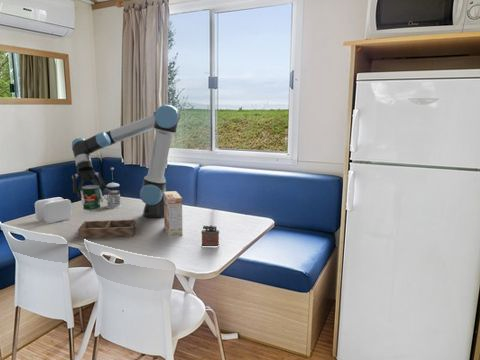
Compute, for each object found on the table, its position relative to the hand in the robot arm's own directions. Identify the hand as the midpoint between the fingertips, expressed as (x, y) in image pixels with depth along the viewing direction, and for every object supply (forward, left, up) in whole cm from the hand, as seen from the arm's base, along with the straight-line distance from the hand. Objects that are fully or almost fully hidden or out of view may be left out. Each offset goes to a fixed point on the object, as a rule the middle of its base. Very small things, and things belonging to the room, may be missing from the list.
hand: (93, 202), depth 174 cm
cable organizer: (+27, -26, -17) cm, 41 cm away
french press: (0, -51, -17) cm, 54 cm away
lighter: (-55, +23, -17) cm, 62 cm away
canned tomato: (+1, -3, -4) cm, 5 cm away
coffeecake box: (-38, 0, -17) cm, 42 cm away
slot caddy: (-6, -1, -16) cm, 18 cm away
